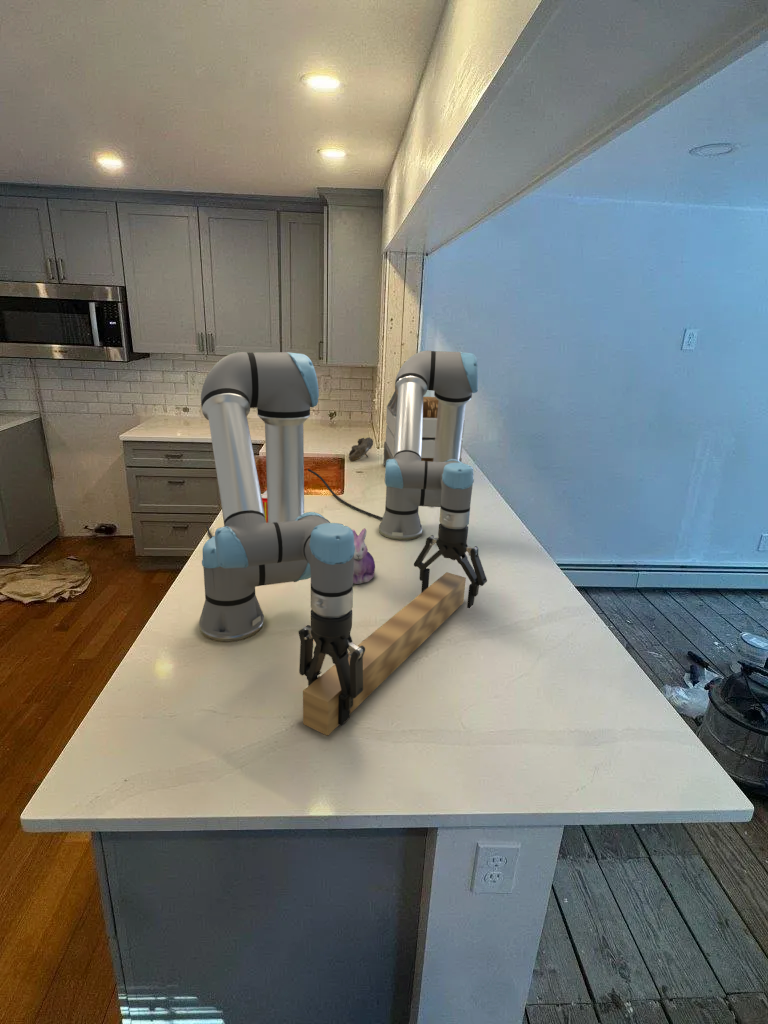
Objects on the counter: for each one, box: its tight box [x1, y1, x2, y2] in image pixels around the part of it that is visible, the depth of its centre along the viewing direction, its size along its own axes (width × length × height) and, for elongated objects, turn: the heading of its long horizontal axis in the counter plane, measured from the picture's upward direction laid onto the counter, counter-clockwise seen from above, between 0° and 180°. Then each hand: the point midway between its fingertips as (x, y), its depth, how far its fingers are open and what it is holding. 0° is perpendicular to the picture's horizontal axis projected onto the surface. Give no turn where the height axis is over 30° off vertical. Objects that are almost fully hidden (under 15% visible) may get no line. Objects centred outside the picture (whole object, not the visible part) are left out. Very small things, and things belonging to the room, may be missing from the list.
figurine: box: [352, 527, 376, 585], centre depth 163 cm, size 9×10×15 cm
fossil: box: [348, 436, 374, 462], centre depth 297 cm, size 22×10×15 cm
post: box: [302, 571, 467, 737], centre depth 130 cm, size 62×6×8 cm, turn 149°
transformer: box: [383, 390, 465, 467], centre depth 268 cm, size 34×33×41 cm
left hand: (330, 714), depth 110 cm, fingers closed on post, 6 cm apart
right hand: (446, 598), depth 151 cm, fingers open, 13 cm apart
